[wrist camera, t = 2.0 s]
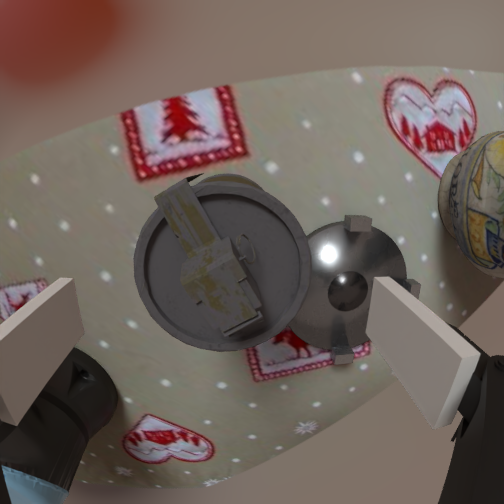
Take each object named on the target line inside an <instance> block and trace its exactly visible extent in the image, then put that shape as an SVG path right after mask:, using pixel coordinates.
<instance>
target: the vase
mask: <svg viewBox="0 0 504 504" xmlns="http://www.w3.org/2000/svg"><path fill="white" fill-rule="evenodd" d="M438 202H439V210H440V214H441V218H442V221H443V223H444V226H445V227H446V229H447V230H448V232H449V233H450V234H451V235H452V236H453V237H454V238H455V239H457V242H458V244H459V246H460V248H461V250H462V251H463V253H464V254H465V256H466V257H467V259H468V260H469V261H470V262H471V263H472V264H473V265H474V266H475V267H476V268H477V269H479V270H480V271H482V272H483V273H485V274H487V275H490V276H493V277H498V278H504V131H496V132H493V133H489V134H487V135H485V136H483V137H481V138H480V139H478V140H477V141H476V142H474V143H473V144H472V145H471V146H470V147H469V148H468V149H467V150H466V151H463V152H461V153H459V154H458V155H456V156H454V157H453V158H452V159H451V160H450V162H449V163H448V164H447V166H446V168H445V170H444V173H443V175H442V178H441V182H440V187H439V193H438Z"/></svg>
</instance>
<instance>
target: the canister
mask: <svg viewBox="0 0 504 504" xmlns="http://www.w3.org/2000/svg"><path fill="white" fill-rule="evenodd" d="M203 174H204V173H203ZM200 175H202V174H199V175H195V176H191V177H187V178H185V179H183V180H181V181H180V182H178V183H176V184H175V185H173V186H171V187H170V188H168V189H167V190H165V191H163V192H162V193H160V194H158V195H157V196H155V197H154V199H155V201H156V203H157V205H158V208H157V209H156V210H155V211H154V212H153V213H152V214H151V216H150V217H149V218H148V220H147V221H146V223H145V225H144V226H143V228H142V230H141V233H140V235H139V238H138V241H137V244H136V249H135V253H134V277H135V282H136V285H137V289H138V292H139V295H140V297H141V299H142V301H143V303H144V305H145V307H146V308H147V310H148V312H149V314H150V316H151V317H152V318H153V319H154V320H155V321H156V322H157V323H158V324H159V325H160V326H161V327H162V328H163V329H164V330H165V331H167V332H168V333H169V334H170V335H172V336H173V337H175V338H177V339H178V340H180V341H182V342H184V343H186V344H188V345H191V346H194V347H197V348H200V349H206V350H212V351H218V352H224V351H237V350H242V349H246V348H250V347H254V346H256V345H258V344H261V343H263V342H265V341H267V340H269V339H271V338H272V337H274V336H276V335H277V334H279V333H280V332H281V331H282V330H283V329H284V328H285V327H286V326H287V325H288V324H289V323H290V322H291V321H292V320H293V319H294V318H295V316H296V315H297V313H298V312H299V311H300V309H301V308H302V305H303V303H304V301H305V299H306V297H307V294H308V291H309V287H310V283H311V279H312V256H311V252H310V248H309V244H308V240H307V237H306V235H305V233H304V231H303V229H302V227H301V226H300V224H299V222H298V221H297V219H296V218H295V216H294V215H293V214H292V213H291V211H290V210H289V209H288V208H287V207H286V206H285V205H283V204H282V203H281V202H280V201H279V200H277V199H276V198H275V197H273V196H272V195H270V194H269V193H267V192H265V191H264V190H263V189H262V188H261V187H260V186H259V185H257V184H256V183H255V182H253V181H252V180H250V179H248V178H246V177H243V176H240V175H235V174H218V175H214V176H211V177H208V178H206V179H204V180H202V181H201V182H199V183H198V184H196V185H194V186H191V187H190V185H189V183H188V182H190V181H192V180H193V179H195V178H197V177H198V176H200Z"/></svg>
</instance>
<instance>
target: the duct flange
mask: <svg viewBox="0 0 504 504" xmlns="http://www.w3.org/2000/svg"><path fill="white" fill-rule="evenodd" d="M371 224H372V218H369V217H367V216H362V215H345V220H344V221H341V222H336V223H331V224H328V225H325V226H323V227H321V228H319V229H317V230H315V231H313V232H312V233H310V234H309V235H308V236H306V237H307V240H308V244H309V248H310V252H311V256H312V279H311V283H310V287H309V291H308V294H307V297H306V299H305V301H304V303H303V305H302V308H301V309H300V311H299V312H298V313H297V315H296V316H295V318H294V319H293V320H292V321H291V322H290V323H289V324H288V325H289V327H290V328H291V329H292V331H293V332H294V333H295V334H296V335H297V336H298V337H299V338H301V339H302V340H303V341H305V342H306V343H308V344H310V345H313V346H315V347H318V348H322V349H330V350H331V355H330V357H331V359H332V361H333V363H334V365H338V364H348V363H353V359H354V352H353V351H352V349H351V347H355V346H358V345H360V344H363V343H365V342H366V341H368V340H370V338H369V337H368V336H367V334H366V333H365V332H366V327H367V321H368V315H369V309H370V302H371V296H372V289H373V281H374V277H390V278H392V279H393V280H394V281H395V282H397V283H398V284H399V285H400V286H402V287H403V288H404V289H405V290H407V291H408V292H409V293H410V294H412V295H413V296H414V297H415V298H417V299H418V298H419V293H420V287H421V284H420V283H418V282H417V281H415V280H414V279H407V272H406V266H405V262H404V258H403V256H402V254H401V251H400V250H399V248H398V246H397V245H396V243H395V242H394V241H393V240H392V239H391V238H390V237H389V236H388V235H386V234H385V233H384V232H382V231H380V230H379V229H377V228H375V227H373V226H371Z"/></svg>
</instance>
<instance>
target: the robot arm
mask: <svg viewBox="0 0 504 504" xmlns="http://www.w3.org/2000/svg"><path fill="white" fill-rule="evenodd" d="M365 333H366V334H367V336H368V337H369V338H370V340H371V341H372V343H373V344H374V345H375V347H376V348H377V350H378V351H379V352H380V354H381V355H382V357H383V358H384V359H385V361H386V362H387V364H388V365H389V366H390V368H391V369H392V371H393V372H394V374H395V375H396V376H397V378H398V379H399V381H400V382H401V384H402V385H403V387H404V388H405V389H406V391H407V392H408V394H409V395H410V397H411V398H412V399H413V401H414V402H415V404H416V405H417V407H418V408H419V410H420V411H421V413H422V414H423V416H424V417H425V419H426V420H427V422H428V423H429V425H430V426H431V428H432V429H437V428H440V427H443V426H446V425H449V424H451V423H452V421H453V419H454V417H455V415H456V413H457V410H458V411H459V412H460V413H461V414H462V416H463V418H462V420H461V422H460V424H459V426H458V428H457V430H456V432H455V434H454V436H453V438H452V439H451V441H454V440H455V438H456V442H455V447H454V451H453V455H452V459H451V463H450V466H449V470H448V473H447V477H446V480H445V484H444V487H443V490H442V493H441V496H440V499H439V502H438V504H504V356H499V355H496V356H492V357H490V356H488V355H487V354H486V353H485V352H484V351H483V350H482V349H480V348H479V347H478V346H477V345H476V344H475V343H474V342H473V341H470V339H469V338H468V337H467V336H464V334H463V333H462V332H461V331H460V330H459V329H457V328H456V327H454V326H452V325H450V324H448V323H446V322H444V321H443V320H442V319H441V318H439V317H438V316H437V315H436V314H435V313H433V312H432V311H431V310H430V309H429V308H427V307H426V306H425V305H424V304H423V303H421V302H420V301H419V300H418V299H417V298H415V297H414V296H413V295H412V294H410V293H409V292H408V291H407V290H405V289H404V288H403V287H402V286H400V285H399V284H398V283H397V282H395V281H394V280H393V279H392V278H390V277H374V281H373V289H372V296H371V302H370V309H369V315H368V321H367V327H366V332H365ZM83 335H84V328H83V324H82V319H81V315H80V310H79V305H78V300H77V294H76V289H75V283H74V278H59V279H58V280H56V281H55V282H54V283H52V284H51V285H50V286H48V287H47V288H46V289H45V290H43V291H42V292H41V293H39V294H38V295H37V296H35V297H34V298H33V299H32V300H30V301H29V302H28V303H26V304H25V305H24V306H23V307H21V308H20V309H19V310H18V311H16V312H15V313H14V314H13V315H12V316H10V317H9V318H8V319H7V320H5V321H4V322H3V323H2V324H1V325H0V504H63V502H64V501H65V499H66V497H68V495H69V489H70V486H71V484H72V481H73V479H74V476H75V473H76V471H77V468H78V466H79V463H80V460H81V458H82V455H83V453H84V451H85V448H86V446H87V443H88V441H89V439H91V438H92V437H93V436H94V435H95V434H96V433H97V432H98V431H99V430H100V429H101V428H102V427H104V426H105V425H106V424H107V423H108V422H109V421H110V420H111V418H112V416H113V414H114V411H115V409H116V406H117V393H116V390H115V387H114V384H113V382H112V381H111V379H110V377H109V376H108V374H107V373H106V372H105V370H104V369H103V368H102V367H101V366H100V365H99V364H98V363H97V362H96V361H95V360H93V359H92V358H91V357H90V356H88V355H87V354H85V353H84V352H82V351H80V350H78V349H76V348H74V346H75V345H76V344H77V342H78V341H79V340H80V338H81V337H82V336H83Z"/></svg>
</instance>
